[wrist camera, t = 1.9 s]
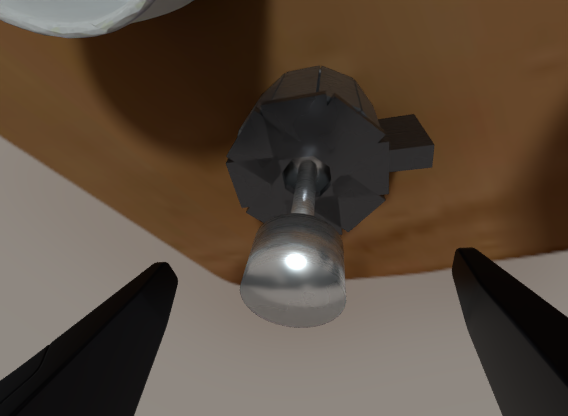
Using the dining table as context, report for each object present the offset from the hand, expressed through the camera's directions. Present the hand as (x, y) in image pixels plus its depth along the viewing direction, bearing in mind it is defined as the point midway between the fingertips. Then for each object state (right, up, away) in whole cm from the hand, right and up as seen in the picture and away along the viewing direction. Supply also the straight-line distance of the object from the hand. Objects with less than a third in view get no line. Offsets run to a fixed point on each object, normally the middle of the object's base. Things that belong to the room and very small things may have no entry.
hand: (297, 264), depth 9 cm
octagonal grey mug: (+1, +6, +9) cm, 11 cm away
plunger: (+1, +4, +5) cm, 7 cm away
